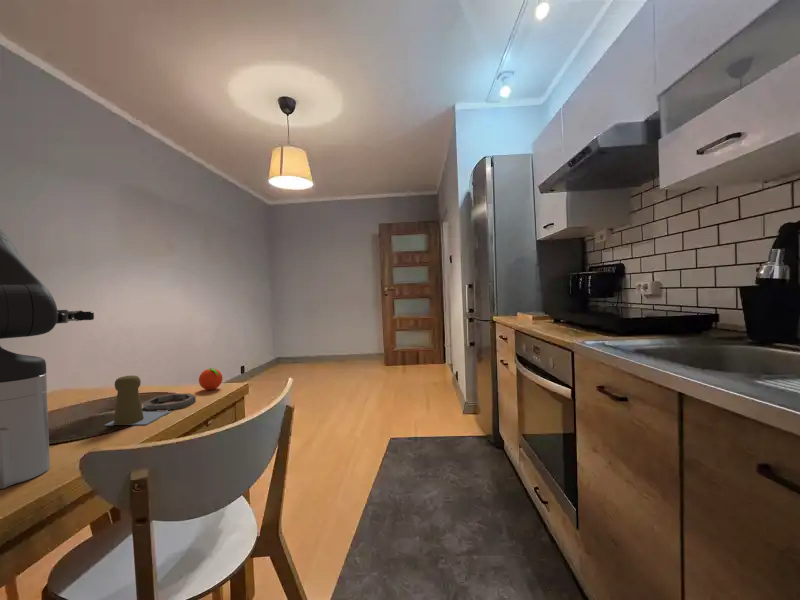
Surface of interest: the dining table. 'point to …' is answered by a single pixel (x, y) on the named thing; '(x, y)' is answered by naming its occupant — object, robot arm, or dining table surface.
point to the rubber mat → (146, 418)
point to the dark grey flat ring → (153, 406)
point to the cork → (128, 401)
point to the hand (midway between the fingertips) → (79, 316)
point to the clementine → (210, 379)
